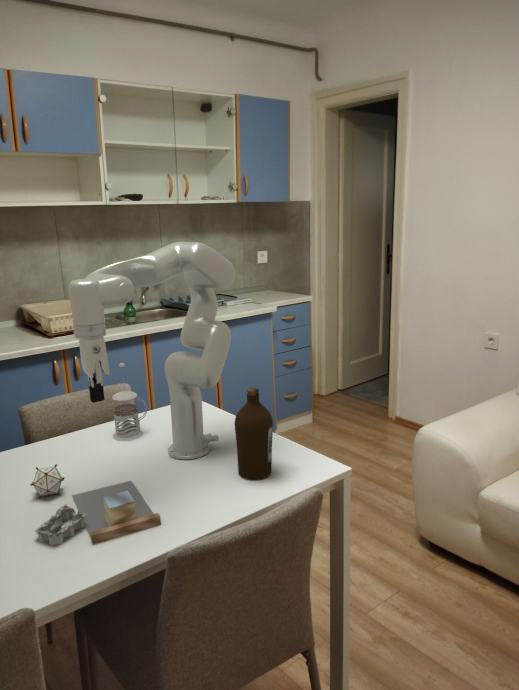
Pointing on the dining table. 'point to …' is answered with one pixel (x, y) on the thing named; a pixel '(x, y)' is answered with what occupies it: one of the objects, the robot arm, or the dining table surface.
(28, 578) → the dining table surface
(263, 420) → the olive oil
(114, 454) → the dining table surface
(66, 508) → the carved stone fragment
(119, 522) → the block
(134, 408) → the french press
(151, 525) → the rail
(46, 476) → the game die
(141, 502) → the grey rectangular board
